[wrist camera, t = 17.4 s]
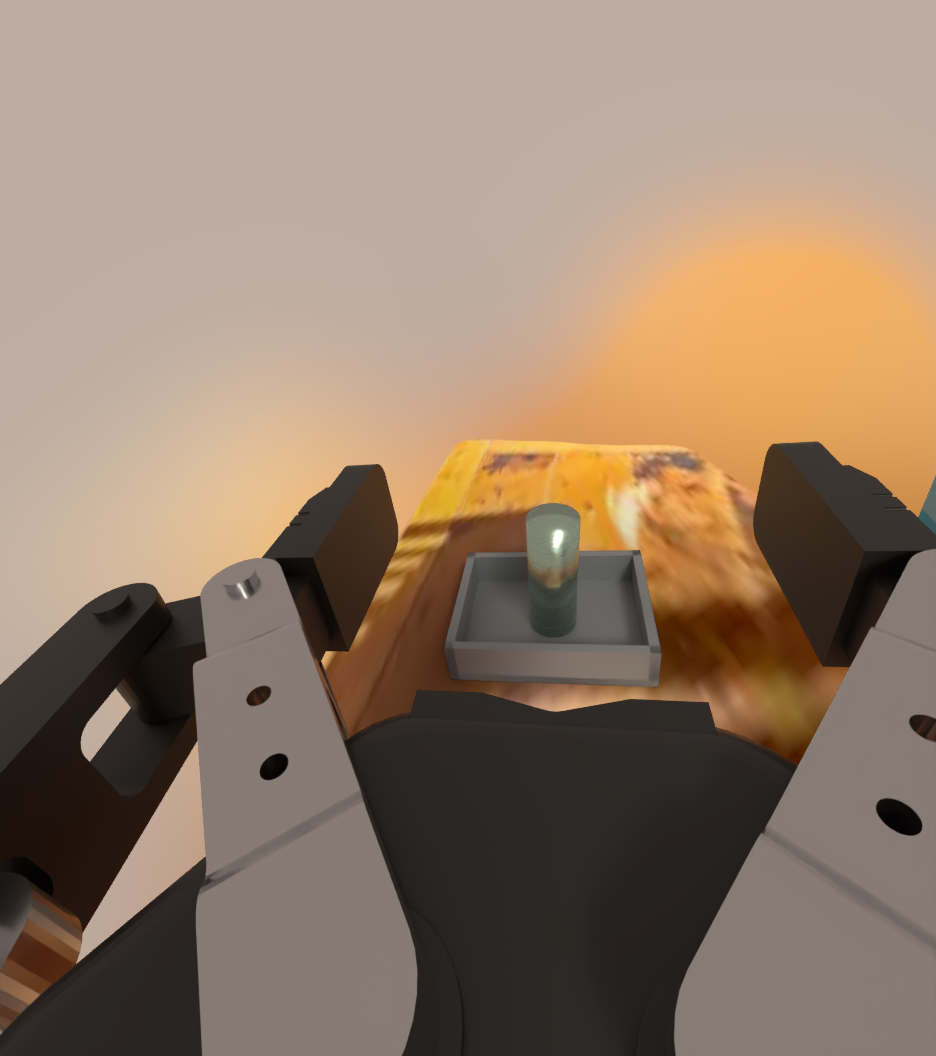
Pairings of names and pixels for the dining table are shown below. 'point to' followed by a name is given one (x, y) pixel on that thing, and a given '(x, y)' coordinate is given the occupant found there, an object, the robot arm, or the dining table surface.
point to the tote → (577, 658)
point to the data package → (930, 509)
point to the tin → (553, 568)
